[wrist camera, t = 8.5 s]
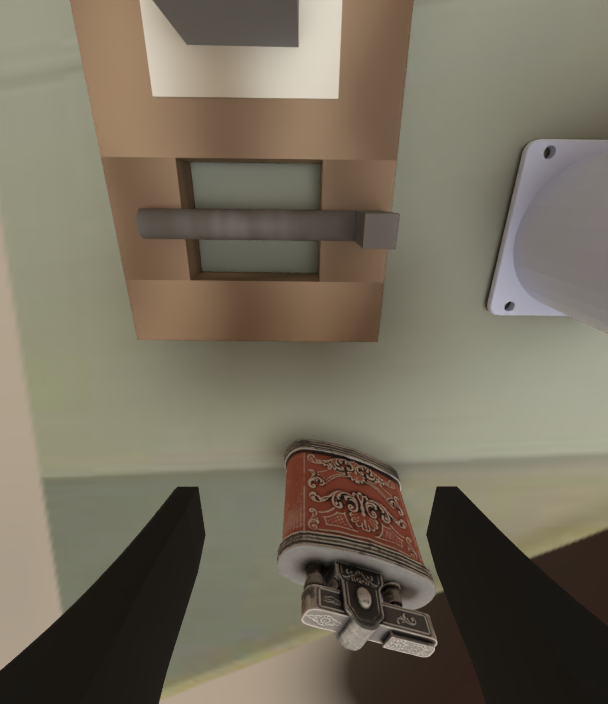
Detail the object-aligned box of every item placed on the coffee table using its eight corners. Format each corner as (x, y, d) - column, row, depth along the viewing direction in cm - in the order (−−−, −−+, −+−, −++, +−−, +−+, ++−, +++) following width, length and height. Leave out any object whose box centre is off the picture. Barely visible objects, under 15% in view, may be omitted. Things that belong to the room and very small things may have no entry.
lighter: (277, 468, 23) (260, 642, 14) (296, 429, 22) (290, 594, 13) (383, 502, 25) (430, 682, 16) (407, 467, 23) (474, 642, 14)
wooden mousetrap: (417, -167, 12) (487, -392, 7) (370, 328, 19) (391, 369, 15) (65, -173, 12) (-84, -404, 7) (153, 326, 19) (106, 366, 15)
